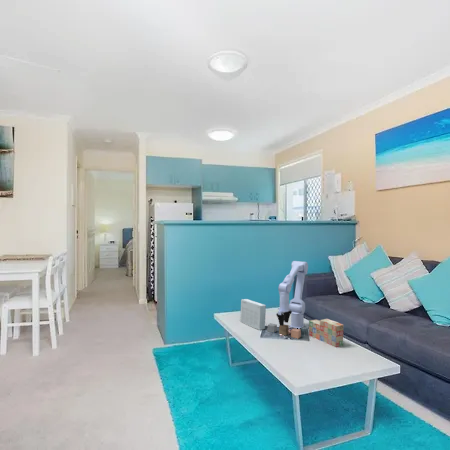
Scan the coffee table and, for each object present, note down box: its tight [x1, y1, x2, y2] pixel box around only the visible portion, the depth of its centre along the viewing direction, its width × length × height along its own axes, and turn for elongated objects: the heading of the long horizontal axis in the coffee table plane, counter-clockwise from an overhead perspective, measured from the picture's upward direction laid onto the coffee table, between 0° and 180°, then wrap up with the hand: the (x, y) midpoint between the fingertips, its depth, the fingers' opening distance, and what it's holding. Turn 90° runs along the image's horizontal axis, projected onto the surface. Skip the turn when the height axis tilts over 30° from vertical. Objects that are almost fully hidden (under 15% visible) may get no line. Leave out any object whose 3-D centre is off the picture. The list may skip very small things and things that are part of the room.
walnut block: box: [278, 323, 290, 336], centre depth 199 cm, size 4×4×6 cm
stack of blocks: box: [308, 318, 344, 348], centre depth 190 cm, size 21×6×12 cm, turn 29°
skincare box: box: [239, 298, 267, 331], centre depth 215 cm, size 21×5×16 cm, turn 34°
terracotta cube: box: [290, 327, 302, 340], centre depth 194 cm, size 4×4×4 cm
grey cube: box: [266, 323, 278, 334], centre depth 203 cm, size 4×4×4 cm
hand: (283, 323), depth 199 cm, fingers open, 7 cm apart
